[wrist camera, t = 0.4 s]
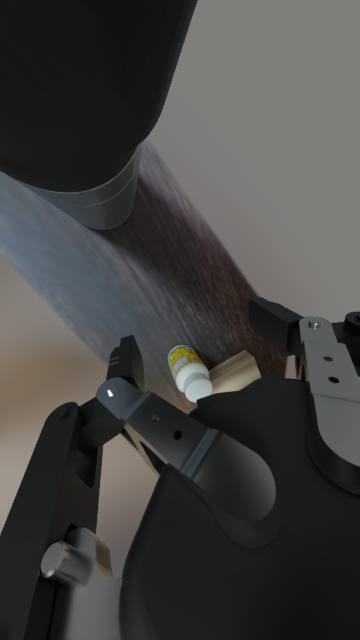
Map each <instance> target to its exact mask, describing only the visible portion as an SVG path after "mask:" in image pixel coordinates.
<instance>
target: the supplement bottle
mask: <svg viewBox="0 0 360 640" xmlns="http://www.w3.org/2000/svg"><path fill="white" fill-rule="evenodd" d="M168 364H169V367H170V369H171V372H172V374H173V377H174V380H175V382H176V385H177V387H178V388H179V390H180V391H182V392H183V393H185V395H186V397H187V398H188V400H190V401H192V402H197V401H196V400H197V399H200V398H203V397H206V396H209V395H210V394H211V392H212V384H211V382H210V380H209V372H208V370H207V368H206V366H205V365H204V364H203V362H202V361H201V359H200V358H199V356H198V355H197V354H196V352H195V351H194V349H193V348H191V347H190V346H187V345H179V346H176V347H175V348H173V349H172V350H171V351H170V353H169V355H168Z"/></svg>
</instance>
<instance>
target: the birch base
mask: <svg viewBox="0 0 360 640" xmlns="http://www.w3.org/2000/svg"><path fill="white" fill-rule="evenodd" d="M208 372H209V380H210V382H211V384H212V392H211V394H210V395H212V394H215V393H221V392H230V391H239V390H241V389H243V388H244V387H246V386H247V385H249V384H250V383H252V382H253V381H255V380H256V379H259V378H261V375H260V372H259V370H258V367H257V364H256V361H255V358H254V356H252V355H251V354H250V353H249V352H247V351H246V350H243V351H242V352H240V353H238V354H237V355H235V356H233V357H231V358H230V359H228V360H226V361H225V362H223V363H221V364H219V365H218V366H216V367H214V368H212V369H211V370H209V371H208Z"/></svg>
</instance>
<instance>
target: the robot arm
mask: <svg viewBox="0 0 360 640" xmlns="http://www.w3.org/2000/svg"><path fill="white" fill-rule="evenodd" d="M197 1H198V0H0V171H1V172H3V173H5V174H6V175H8V176H9V177H11V178H12V179H14V180H15V181H17V182H19V183H20V184H22V185H23V186H25V187H26V188H28V189H29V190H31V191H32V192H34V193H35V194H37V195H39V196H40V197H42V198H43V199H45V200H46V201H48V202H49V203H51V204H52V205H54V206H55V207H57V208H58V209H60V210H61V211H63V212H64V213H66V214H67V215H69V216H70V217H72V218H73V219H75V220H76V221H78V222H79V223H81V224H83V225H85V226H87V227H89V228H92V229H95V230H111V229H114V228H117V227H119V226H120V225H122V224H123V223H124V222H125V221H126V220H127V219H128V218H129V216H130V214H131V212H132V210H133V206H134V201H135V195H136V188H137V180H138V173H139V165H140V158H141V150H142V142H143V141H144V139H145V138H146V137H147V136H148V135H149V133H150V132H151V131H152V129H153V128H154V126H155V124H156V123H157V121H158V119H159V117H160V114H161V112H162V109H163V106H164V104H165V101H166V97H167V94H168V91H169V87H170V85H171V81H172V78H173V75H174V72H175V68H176V65H177V62H178V59H179V56H180V53H181V50H182V47H183V44H184V41H185V38H186V34H187V31H188V28H189V25H190V22H191V19H192V15H193V13H194V10H195V7H196V4H197ZM249 322H250V325H251V327H252V328H253V329H254V330H255V331H256V332H257V333H258V334H259V335H260V336H262V337H263V338H264V339H265V340H266V341H267V342H269V343H270V344H271V345H272V346H273V347H274V348H275V349H277V350H278V351H279V352H280V353H281V354H282V355H284V356H285V357H288V356H291V355H295V367H296V379H289V378H283V379H281V378H280V377H279V376H278V375H277V374H276V373H274V374H271V375H268V376H265V377H262V378H259V379H256V380H255V381H253V382H252V383H250V384H249V385H247V386H246V387H244V388H243V389H241V390H239V391H230V392H221V393H215V394H212V395H209V396H206V397H203V398H200V399H197V400H196V401H197V405H198V407H197V408H195V409H194V410H193V411H191V412H190V413H189V414H188V415H187V414H186V413H184V412H182V411H181V410H179V409H178V408H176V407H175V406H173V405H172V404H170V403H169V402H167V401H165V400H164V399H162V398H161V397H159V396H158V395H156V394H155V393H153V392H151V391H148V392H147V393H146V394H145V386H144V370H143V360H142V356H141V353H140V351H139V348H138V345H137V343H136V340H135V338H134V336H133V335H130V336H127V337H123V338H121V343H120V347H117V348H115V349H114V350H113V352H112V353H111V356H110V361H109V367H108V372H107V378H106V381H105V382H104V383H103V384H102V385H101V386H100V387H99V388H98V390H97V392H96V397H95V398H93V399H91V400H90V401H88V402H86V403H84V404H83V405H81V406H78V404H77V403H75V402H68V403H65V404H63V405H61V406H59V407H58V408H56V409H55V410H54V411H53V412H52V413H51V414H50V415H49V416H48V418H47V419H46V421H45V424H44V426H43V429H42V431H41V434H40V436H39V439H38V441H37V444H36V446H35V449H34V451H33V454H32V456H31V459H30V461H29V464H28V467H27V469H26V472H25V474H24V477H23V479H22V482H21V484H20V487H19V489H18V492H17V495H16V497H15V499H14V502H13V505H12V507H11V510H10V512H9V515H8V517H7V520H6V522H5V525H4V527H3V530H2V532H1V535H0V640H360V380H359V377H360V312H351V313H348V314H347V315H346V316H345V321H344V322H338V323H330V322H329V321H328V320H326V319H324V318H320V317H305V318H304V317H302V316H300V315H298V314H297V313H295V312H293V311H291V310H289V309H287V308H284V306H282V305H280V304H278V303H273V302H269V301H267V300H265V299H264V298H262V297H259V298H256V299H252V300H250V301H249ZM358 376H359V377H358ZM118 434H120V435H121V436H122V437H123V438H124V439H125V440H126V441H127V442H128V443H129V444H130V445H131V446H132V447H133V448H134V449H135V450H136V451H137V452H138V453H139V454H140V455H141V457H143V459H144V460H145V462H146V463H147V464H148V465H149V467H150V468H151V469H152V470H153V471H154V472H155V473H156V474H157V475H158V476H159V479H158V481H157V483H156V486H155V488H154V491H153V493H152V496H151V498H150V500H149V503H148V505H147V508H146V510H145V513H144V515H143V518H142V520H141V522H140V525H139V527H138V530H137V532H136V535H135V537H134V540H133V542H132V544H131V547H130V549H129V552H128V555H127V558H126V561H125V565H124V569H123V574H122V577H121V578H119V579H115V577H114V575H113V572H112V568H111V560H110V559H111V558H110V551H109V548H108V545H107V544H106V542H105V541H104V540H102V539H101V538H100V537H98V536H97V535H96V525H97V513H98V500H99V489H100V477H101V466H102V454H103V445H104V444H105V443H106V442H108V441H109V440H111V439H112V438H114V437H115V436H117V435H118Z"/></svg>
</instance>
